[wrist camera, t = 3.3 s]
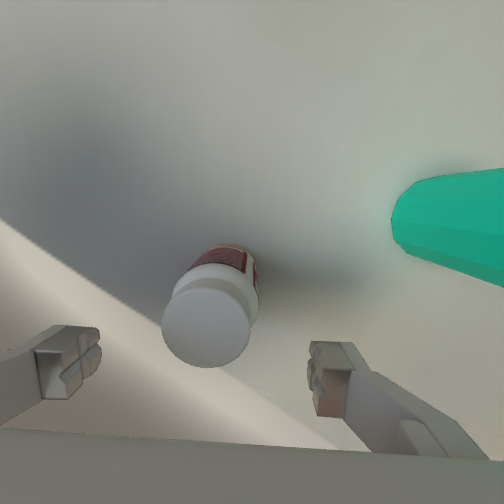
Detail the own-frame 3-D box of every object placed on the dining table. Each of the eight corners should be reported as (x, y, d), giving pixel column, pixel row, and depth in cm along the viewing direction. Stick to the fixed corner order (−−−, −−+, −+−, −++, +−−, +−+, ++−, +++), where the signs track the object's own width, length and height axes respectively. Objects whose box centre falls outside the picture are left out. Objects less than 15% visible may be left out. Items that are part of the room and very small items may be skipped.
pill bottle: (184, 269, 19) (128, 324, 10) (229, 230, 18) (208, 256, 10) (224, 312, 19) (202, 394, 11) (270, 276, 19) (280, 336, 10)
